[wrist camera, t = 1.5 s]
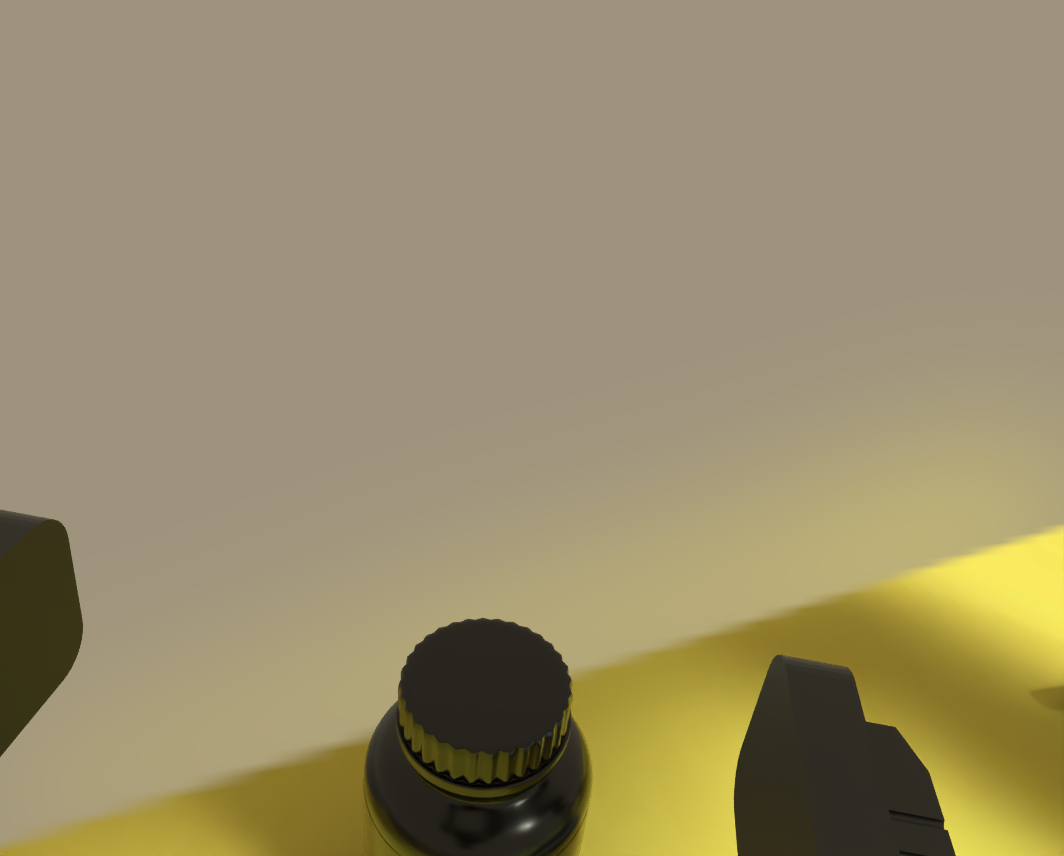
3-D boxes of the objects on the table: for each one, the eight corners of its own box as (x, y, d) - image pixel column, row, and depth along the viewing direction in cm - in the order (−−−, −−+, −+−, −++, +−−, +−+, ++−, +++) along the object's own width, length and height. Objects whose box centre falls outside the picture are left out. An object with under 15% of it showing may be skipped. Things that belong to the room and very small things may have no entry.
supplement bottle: (343, 861, 32) (332, 620, 25) (515, 800, 35) (545, 568, 28) (402, 1062, 27) (407, 822, 20) (599, 971, 29) (658, 735, 23)
